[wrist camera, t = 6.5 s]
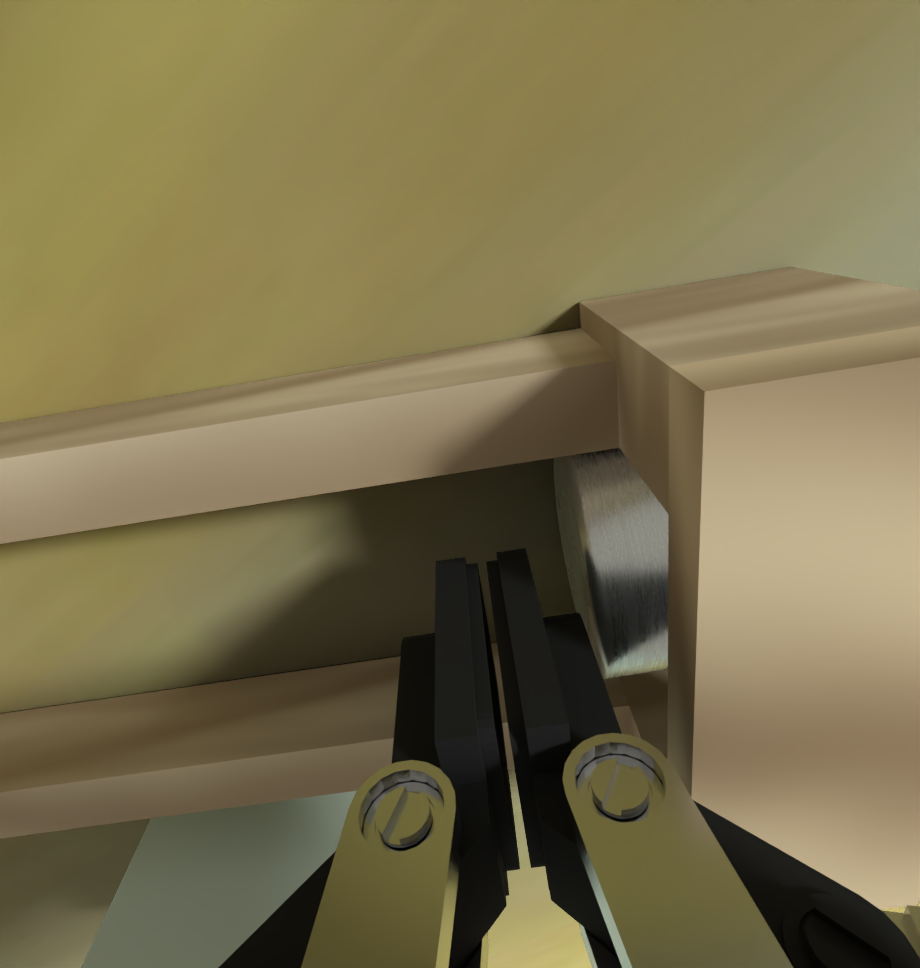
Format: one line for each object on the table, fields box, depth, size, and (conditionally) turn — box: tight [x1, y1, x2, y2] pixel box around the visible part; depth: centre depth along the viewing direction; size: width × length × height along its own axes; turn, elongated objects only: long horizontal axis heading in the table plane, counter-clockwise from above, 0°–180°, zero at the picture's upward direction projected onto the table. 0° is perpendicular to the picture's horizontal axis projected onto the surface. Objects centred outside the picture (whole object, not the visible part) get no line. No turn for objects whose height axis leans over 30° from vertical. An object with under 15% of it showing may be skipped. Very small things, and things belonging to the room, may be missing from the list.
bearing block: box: [0, 267, 920, 910], centre depth 11 cm, size 10×20×6 cm, turn 99°
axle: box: [554, 448, 669, 679], centre depth 11 cm, size 12×4×4 cm, turn 100°
